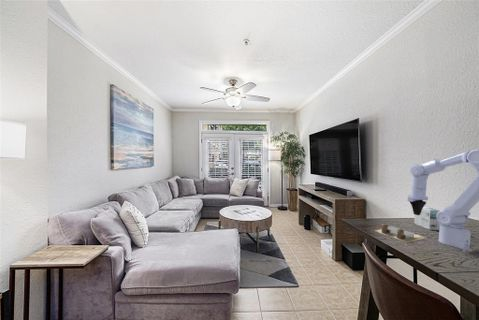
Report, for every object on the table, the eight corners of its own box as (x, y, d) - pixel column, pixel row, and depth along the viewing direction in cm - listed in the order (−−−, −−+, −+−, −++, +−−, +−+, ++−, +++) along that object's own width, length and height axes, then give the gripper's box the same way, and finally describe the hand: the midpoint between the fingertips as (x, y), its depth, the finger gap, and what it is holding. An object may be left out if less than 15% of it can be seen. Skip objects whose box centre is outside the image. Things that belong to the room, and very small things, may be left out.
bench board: (426, 240, 101) (427, 229, 100) (407, 244, 94) (408, 233, 94) (392, 229, 114) (393, 219, 114) (373, 232, 107) (374, 222, 107)
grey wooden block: (414, 237, 100) (414, 233, 100) (405, 239, 97) (405, 235, 97) (391, 230, 109) (391, 226, 109) (382, 231, 106) (383, 227, 106)
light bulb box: (441, 230, 116) (443, 210, 115) (429, 230, 116) (430, 210, 115) (425, 224, 126) (426, 206, 126) (413, 223, 126) (414, 205, 126)
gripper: (417, 186, 116) (415, 211, 116) (401, 187, 110) (399, 213, 110) (433, 188, 109) (431, 215, 110) (417, 189, 103) (415, 217, 104)
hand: (416, 214), depth 110 cm, fingers closed
